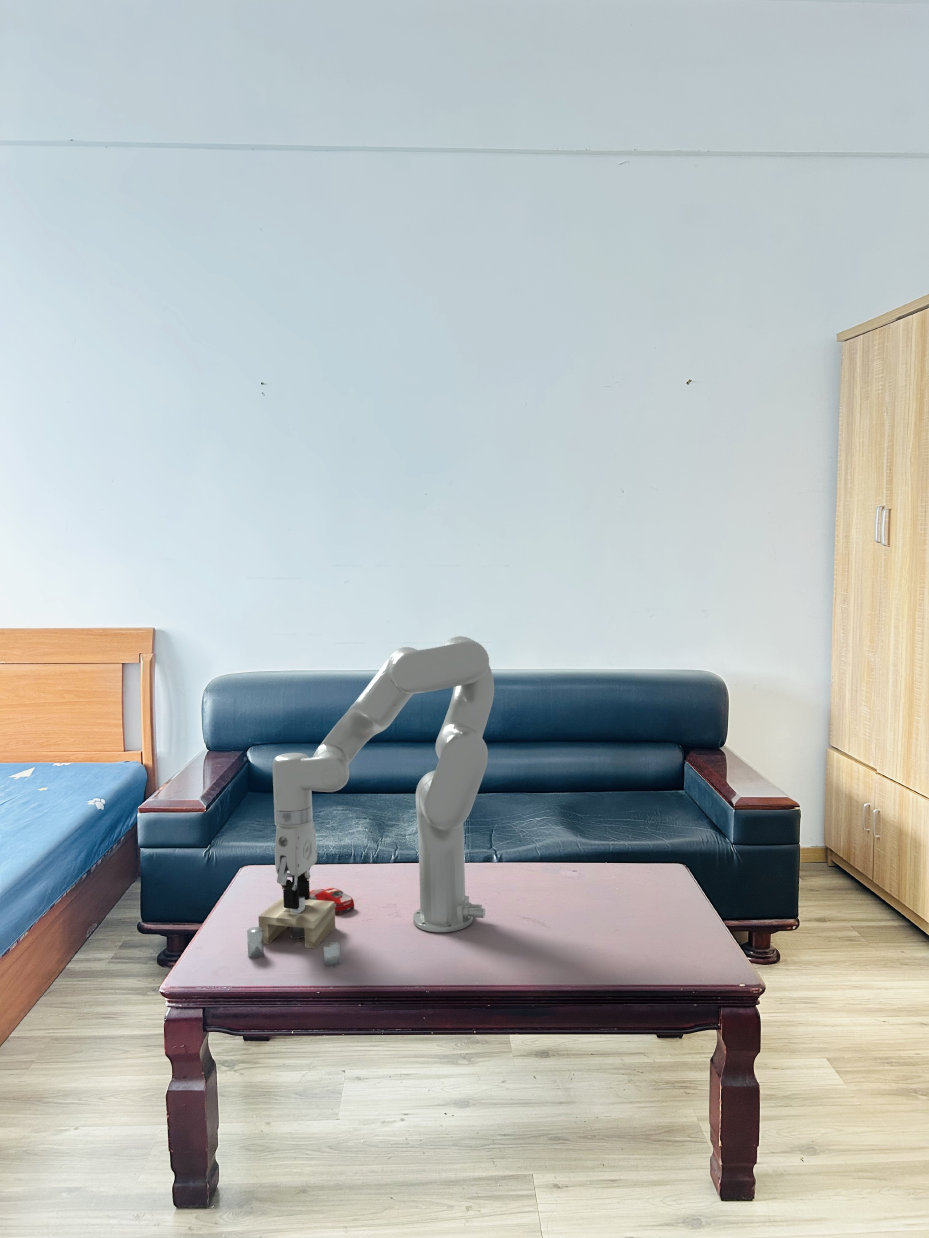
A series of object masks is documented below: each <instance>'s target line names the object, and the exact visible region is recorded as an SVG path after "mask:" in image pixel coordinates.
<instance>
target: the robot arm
mask: <svg viewBox="0 0 929 1238" xmlns="http://www.w3.org/2000/svg"><path fill="white" fill-rule="evenodd" d="M494 681H495V680H494V674H493V673H492V669H491V666H490V657H489V654H488V652H487V650H486V649H485V647H484V646H483V645H482V644H480V643H479V642H477V641H475V640H474V639H471V638H469V637H467V636H461V635H459V636H453V637H451V638H450V639H448V640H447V641H446V642H445V643H444V645H440V646H435V647H431V648H423V649H416V648H413V647H409V646H405V647H401V648H397V649H396V650H395V651H394V652H392V653H391V654H390V656H389V657H388V659H387V660H386V661H385V662H384V663H383V665H382V666H381V667H380V669H379V670H378V671H377V672H376V674H375V675H374V677H373V678H372V679H371V681H370V682H369V683H368V685H367V686H366V687H365V688H364V689H363V691H362V692H361V693H360V694H359V696H358V698H357V699H356V700H355V701H354V703H353V704H351V706H350V707H349V708H348V710H347V711H346V712H345V714H344V715H343V716H342V717H341V718H340V719H339V720H338V721H337V722H336V724H335V725H334V726H333V728H332V729H331V730H329V731H330V732H329V733H328V734H327V735H326V737H325V738H324V739H323V741H322V742H321V743H320V745H318V747H317V748H316V750H315V752H314V754H313V755H312V757H310V756H308V755H307V754H306V753H301V752H286V753H283V754H279V755H276V756H275V757H274V758H273V760H272V785H273V790H272V791H273V807H274V808H273V809H274V810H273V812H274V825H275V826H276V829H275V839H274V840H275V843H274V861H275V862H274V863H275V864H274V865H275V872H276V874H277V878H276V883H277V884H279V885H280V886H281V890H282V891H283V892H282V894H283V896H282V897H283V898H284V908H289V909H298V908H299V895H303V896H304V897H305V900H308V899H310V891H311V890H310V878H311V874H310V873H311V867H313V865H315V864H316V863H317V860H318V850H317V849H318V848H317V847H318V846H317V838H316V829H315V823H314V819H313V817H314V816H313V797H312V796H313V795H312V791H313V792H326V793H334V792H336V791H339V790H341V789H342V788H344V787H345V786H346V785H347V784H348V781H349V778H350V767H349V765H350V764H351V763H352V761H353V759H355V756H356V755H357V754H358V753H359V752H360V751H361V749H362V748H363V747H364V745H366V744H367V742H369V741H370V739H371V738H373V737H374V736H375V735H377V734H380V733H381V732H383V731H385V730H387V728H389V727H390V726H391V724H392V723H393V721H394V720H395V719H396V717H397V716H398V715H399V713H400V712H401V710H402V709H403V708H404V707H405V706H406V704H407V703H408V701H409V700H410V698H412V696H414V694H415V695H416V694H422V693H429V692H436V691H439V690H440V691H441V690H445V689H450V688H453V690H452V695H451V699H450V703H449V707H448V710H447V712H446V715H445V718H444V719H443V720H444V721H443V723H442V725H441V728H440V731H439V733H438V736H437V738H436V740H435V741H436V742H435V753H436V756H437V758H438V762H437V765H436V767H435V770H432V771H429V772H427V773H426V774H424V775H423V777H421V779H420V780H419V782H418V784H417V785H416V791H415V808H416V820H417V837H418V842H417V843H418V866H419V867H418V868H419V869H418V871H419V872H418V873H419V903H420V907H419V909H417V910H416V911H415V912H414V914H413V916H412V919H413V920H412V921H413V924H414V926H416V927H417V928H419V929H420V930H423V931H426V932H431V933H450V932H456V931H460V930H463V929H466V928H467V927H469V926H470V925H471V924H472V923H473V921H474V918H478V919H484V918H485V917H486V909H485V908H484V907H483V904H479V903H478V904H477V903H476V904H475V903H474V904H472V902H470V896H469V895H466V880H465V879H466V877H465V875H466V873H465V833H464V832H465V830H464V823H465V821H467V818H469V815H470V813H471V811H472V808H473V806H474V804H475V801H476V798H477V795H478V792H479V789H480V786H481V784H482V781H483V778H484V775H485V773H486V769H487V765H488V758H489V752H488V747H487V746H488V745H487V744H486V742H485V739H483V736H484V732H485V729H486V726H487V723H488V720H489V716H490V713H491V709H492V707H493V701H494V698H495V697H494V696H495V682H494ZM288 878H292V879H288Z"/></svg>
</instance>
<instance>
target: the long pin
mask: <svg viewBox="0 0 929 1238" xmlns="http://www.w3.org/2000/svg"><path fill="white" fill-rule="evenodd" d="M304 911H305V897H304V896H303V895H299V908H298V909H290V913H299V914H302V913H303V912H304ZM290 937H291V938H292V939H301V938H305V930H304V928H301V927H290Z"/></svg>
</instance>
